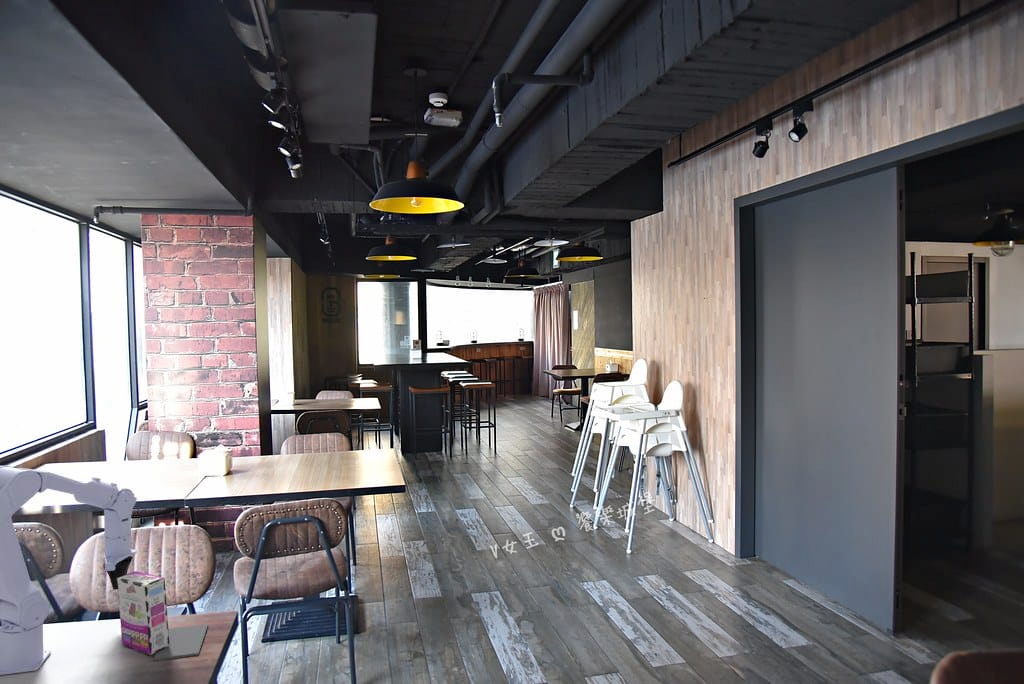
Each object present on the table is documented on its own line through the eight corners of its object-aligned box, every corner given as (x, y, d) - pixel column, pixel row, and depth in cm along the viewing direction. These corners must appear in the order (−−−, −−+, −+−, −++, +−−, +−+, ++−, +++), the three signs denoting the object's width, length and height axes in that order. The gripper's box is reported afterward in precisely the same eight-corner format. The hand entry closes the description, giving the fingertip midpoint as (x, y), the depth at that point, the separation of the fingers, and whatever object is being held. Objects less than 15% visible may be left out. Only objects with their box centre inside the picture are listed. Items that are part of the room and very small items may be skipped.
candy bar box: (171, 645, 151) (166, 577, 150) (151, 656, 147) (145, 585, 146) (141, 635, 157) (136, 569, 156) (121, 645, 152) (115, 577, 151)
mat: (153, 660, 146) (153, 658, 146) (166, 631, 159) (166, 629, 159) (198, 655, 149) (198, 652, 149) (207, 626, 162) (207, 624, 162)
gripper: (128, 543, 157) (128, 598, 158) (143, 524, 171) (143, 575, 172) (94, 546, 155) (95, 602, 156) (112, 526, 169) (113, 578, 170)
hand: (118, 588), depth 163 cm, fingers closed
